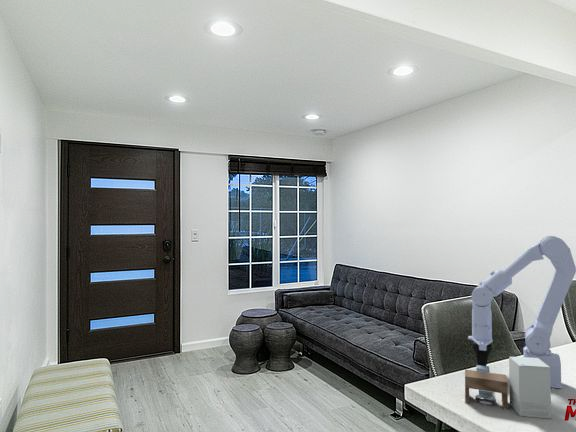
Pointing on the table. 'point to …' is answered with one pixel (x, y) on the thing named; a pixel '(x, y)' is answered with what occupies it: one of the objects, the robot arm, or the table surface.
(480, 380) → the brown wooden arch
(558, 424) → the table surface
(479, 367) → the pale blue mallet
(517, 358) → the supplement box
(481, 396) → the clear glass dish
